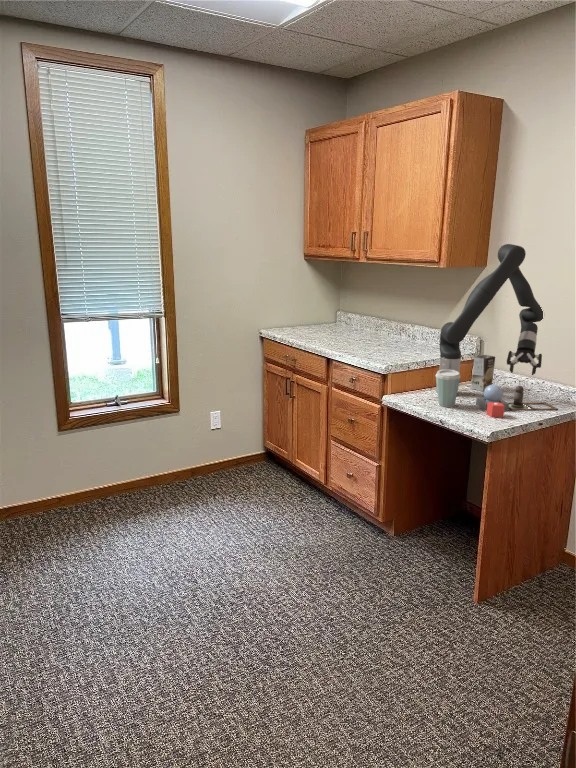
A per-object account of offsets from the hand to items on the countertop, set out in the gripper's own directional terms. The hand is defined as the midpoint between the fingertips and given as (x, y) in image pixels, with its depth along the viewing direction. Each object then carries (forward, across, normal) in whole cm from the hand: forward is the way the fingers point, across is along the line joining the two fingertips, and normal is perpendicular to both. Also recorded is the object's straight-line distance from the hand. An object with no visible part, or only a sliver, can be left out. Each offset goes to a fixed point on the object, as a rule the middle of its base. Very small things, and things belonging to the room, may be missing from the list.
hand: (522, 373), depth 248 cm
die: (+28, -7, -9) cm, 31 cm away
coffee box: (-3, -18, +23) cm, 29 cm away
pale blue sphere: (+19, -10, -1) cm, 21 cm away
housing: (+20, -10, 0) cm, 22 cm away
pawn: (+15, 0, +4) cm, 16 cm away
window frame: (+14, +4, +6) cm, 15 cm away
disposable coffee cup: (+24, -28, -4) cm, 37 cm away
